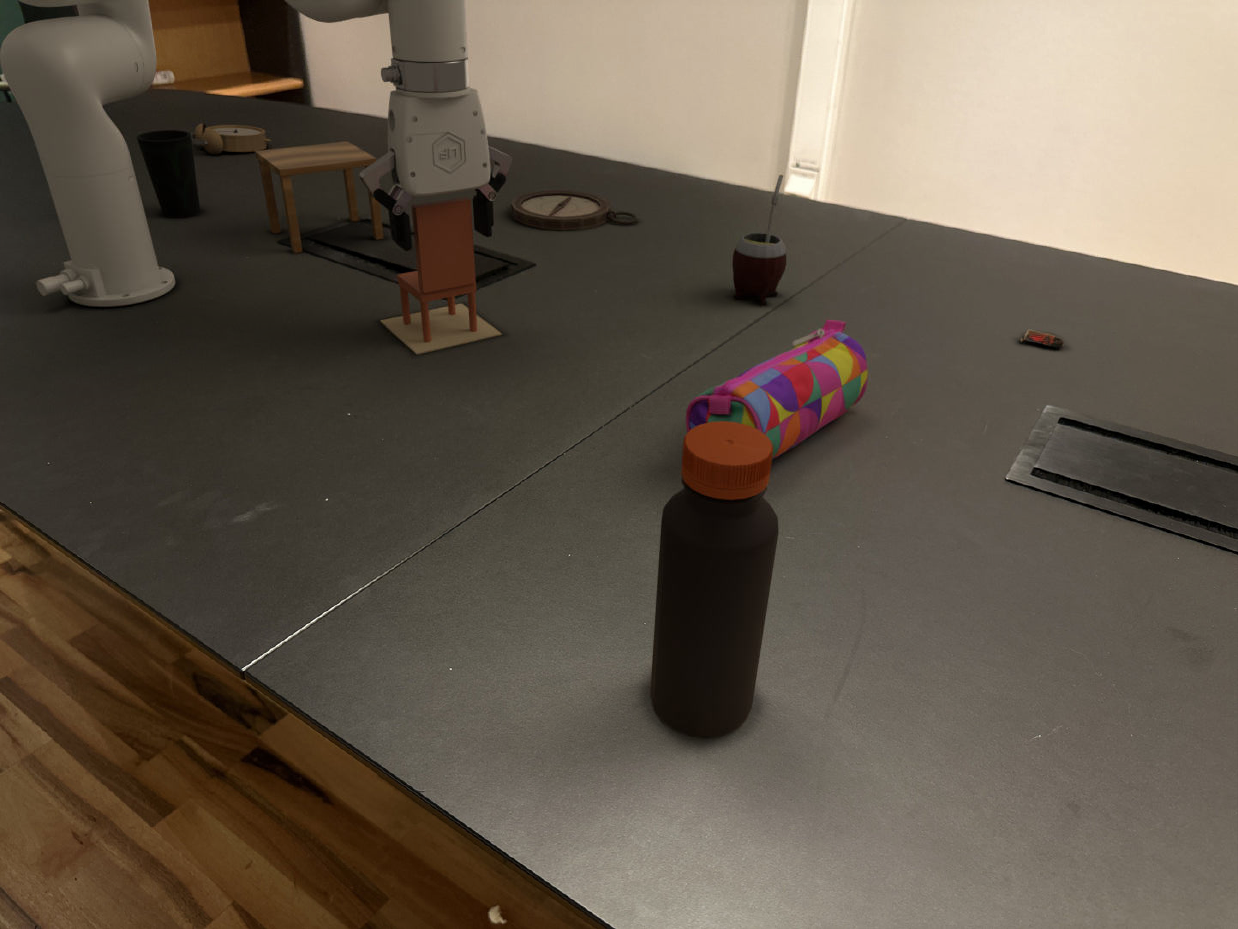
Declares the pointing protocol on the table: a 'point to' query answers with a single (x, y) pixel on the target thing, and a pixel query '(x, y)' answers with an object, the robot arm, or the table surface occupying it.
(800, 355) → the pencil case
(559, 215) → the compass
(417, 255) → the chair
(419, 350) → the mat
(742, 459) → the bottle
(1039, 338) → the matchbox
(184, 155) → the cup
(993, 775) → the table surface
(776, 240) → the mate gourd
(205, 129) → the alarm clock
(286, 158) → the side table
